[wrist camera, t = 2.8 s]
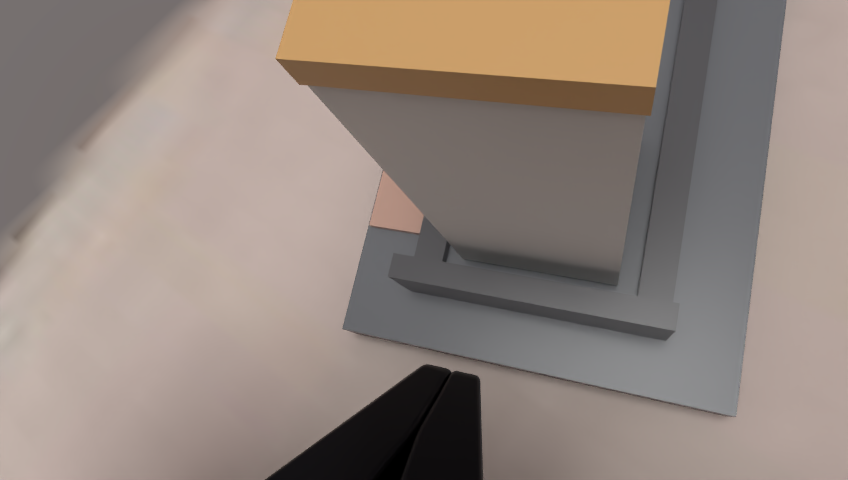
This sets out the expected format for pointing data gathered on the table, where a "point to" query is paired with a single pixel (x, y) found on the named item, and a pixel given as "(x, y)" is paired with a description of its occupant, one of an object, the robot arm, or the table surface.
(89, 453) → the table surface
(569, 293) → the switch board
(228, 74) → the table surface
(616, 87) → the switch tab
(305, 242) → the table surface
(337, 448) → the robot arm
